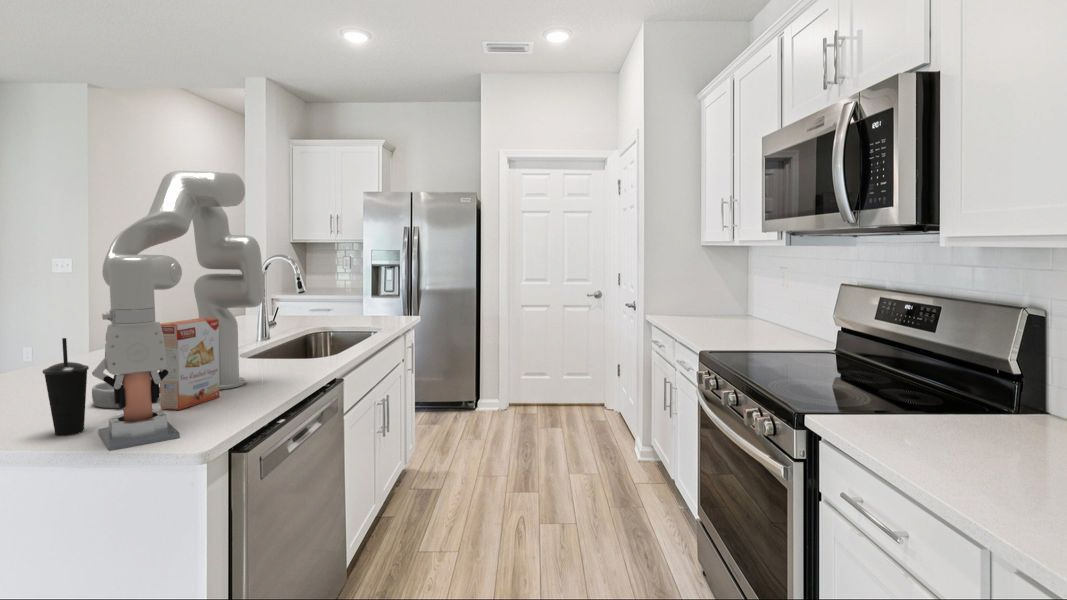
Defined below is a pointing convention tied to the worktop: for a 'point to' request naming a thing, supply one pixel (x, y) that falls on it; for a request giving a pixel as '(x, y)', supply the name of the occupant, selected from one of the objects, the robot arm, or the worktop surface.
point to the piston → (137, 396)
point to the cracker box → (191, 363)
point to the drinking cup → (67, 394)
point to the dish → (104, 395)
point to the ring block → (137, 431)
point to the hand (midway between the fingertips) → (137, 403)
